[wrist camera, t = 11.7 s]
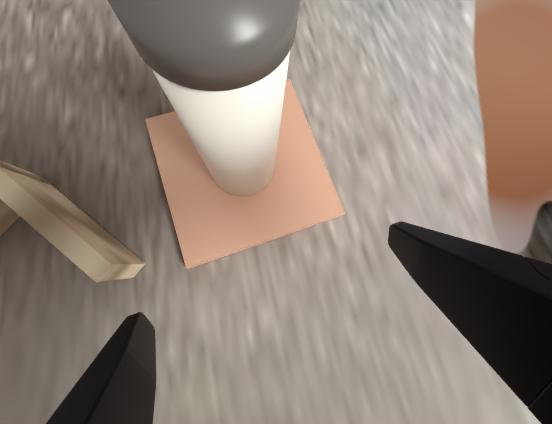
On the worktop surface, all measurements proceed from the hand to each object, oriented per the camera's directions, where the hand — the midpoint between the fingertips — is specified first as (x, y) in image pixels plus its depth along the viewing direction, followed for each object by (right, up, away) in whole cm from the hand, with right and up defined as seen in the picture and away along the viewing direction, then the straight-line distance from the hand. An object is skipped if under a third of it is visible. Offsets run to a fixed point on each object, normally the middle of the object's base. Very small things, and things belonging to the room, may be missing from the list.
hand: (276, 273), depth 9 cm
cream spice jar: (-3, +6, +10) cm, 12 cm away
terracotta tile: (-3, +6, +11) cm, 12 cm away
